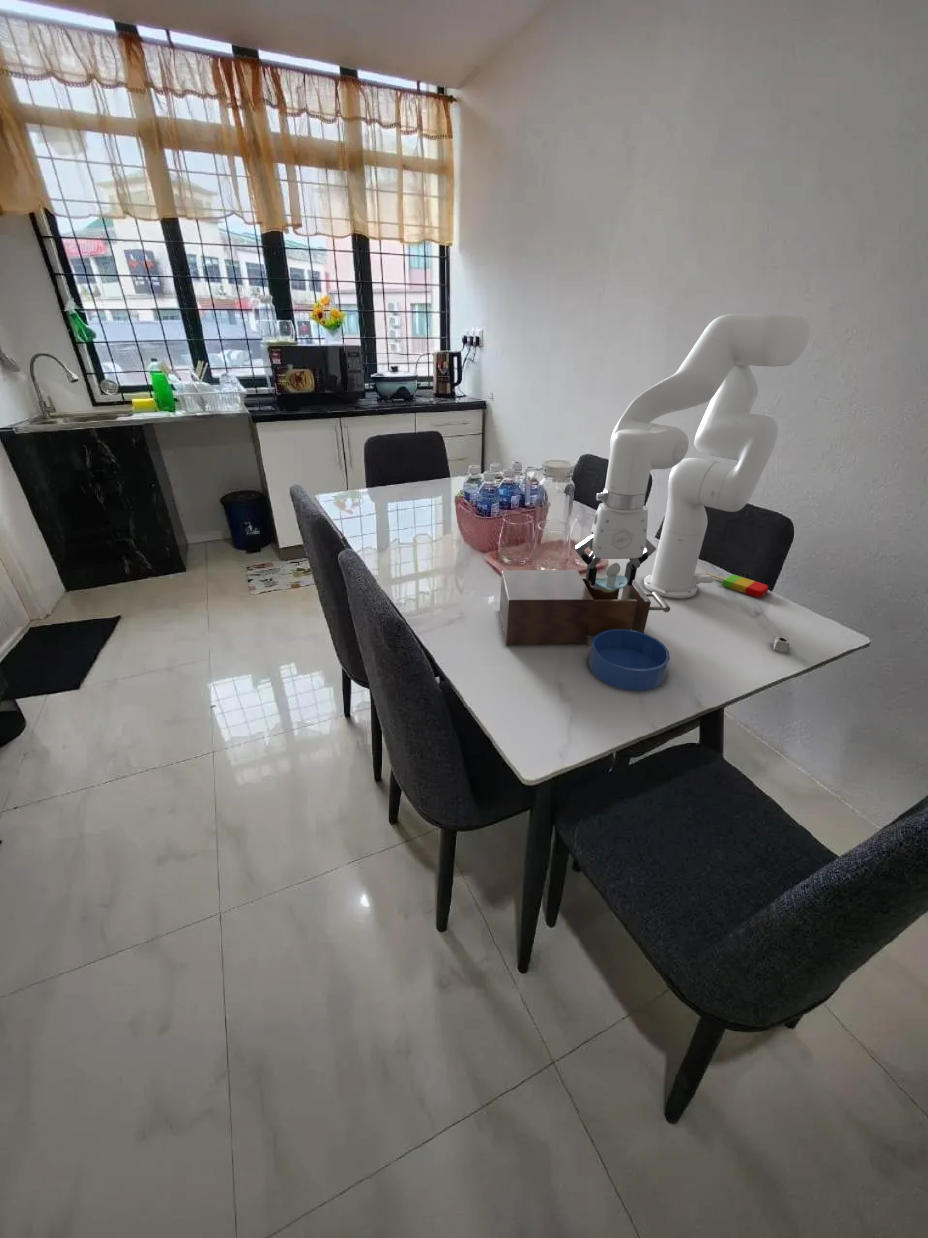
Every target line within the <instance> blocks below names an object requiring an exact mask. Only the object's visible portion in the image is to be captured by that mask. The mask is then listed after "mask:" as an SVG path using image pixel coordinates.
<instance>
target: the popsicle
mask: <svg viewBox="0 0 928 1238" xmlns="http://www.w3.org/2000/svg"><path fill="white" fill-rule="evenodd" d="M704 575H711V576H712V578H716V579H719V580H722V584H721V585H722V586H723V587H725V588H728V589H730V590H734V591H737V592H740V593H743V594H746V595H748V596H751V597H755V598H762V597H763V596H765V595H766V594H767V593H768V591H769V585H768V584H765V583H762V582H759V581H756V580H753V579H750V578H746V577H743V576H741V575H738V574H737V575H736V574H731V575H730V576H728V577H723V576H720V575H717V574H714V573H711V572H708V571H705V572H704Z"/></svg>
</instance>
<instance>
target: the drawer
mask: <svg viewBox="0 0 928 1238" xmlns="http://www.w3.org/2000/svg"><path fill="white" fill-rule="evenodd" d="M606 577H607V576H596V580H598V579H602V578H606ZM581 578H582V580H583V581H584V583H585V585H586V587H587V589H588V591H589V592H590V594H591V596H592V598H593V605H592V611H591V617H590V623H589V629H588V635H587V637H595V636H596V635H597V634H599V633H601V632H603V631H607V630H612V629H627V630H634V631H638V632H641V633H645V630H646V627H647V621H648V617H649V613H650V611H663V612H664V613H669V612H670V611H671V607H670V605H669V604H668V603H667V602H666V600H665V599H664V598H663V596H661V595H660V594H659V593H658V592H657V591H654V592H644V590H643V588H641V586H640V584H638V582H637V581H636V579H635V580H633V582H632V586H629V585H627V584H626V586H625V587H623V588H622V592H621V597H620V599H618V598H619V594H620V590H621V589H616V591H614V592H603V591H601V590H597V589H594V588H592V587H591V586H590V584H589V582H588V581H587V580H586V576H581ZM619 585H621V584H619ZM596 586H598V585H596ZM651 597H652V598H653V599H654V601H656V603H657V604H658V605H659V606H651V604H652V601H651V599H649V598H651Z"/></svg>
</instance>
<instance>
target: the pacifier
mask: <svg viewBox="0 0 928 1238" xmlns="http://www.w3.org/2000/svg"><path fill="white" fill-rule="evenodd" d="M620 571H621V565H620V564H619V563H618V562H614V563H612V564H611V565H610V566H608V568H607V570H606V573H605V574H606V576H605V577H606V578H602V579H598V580H596V581H595V586H591V585H590V586H591V587H592V588H594V589H597V590H601V591H603V592H614V591H616V589H620V590H621V589H623V587H625V586H626V584H627V582H628V580H627V578H626V577H625V576H624V575H619V573H620ZM619 584H620V585H619ZM596 585H598V586H596Z"/></svg>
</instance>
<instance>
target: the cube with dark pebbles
mask: <svg viewBox="0 0 928 1238" xmlns="http://www.w3.org/2000/svg"><path fill="white" fill-rule="evenodd" d="M772 646H773V647H772V648H773V651H776V652H780V653H784V654H786V653H787V650H788V649H789V647H790V639H789V638H788V637H783V636H778V635H776V637H775V640H774V642H773V645H772Z"/></svg>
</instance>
